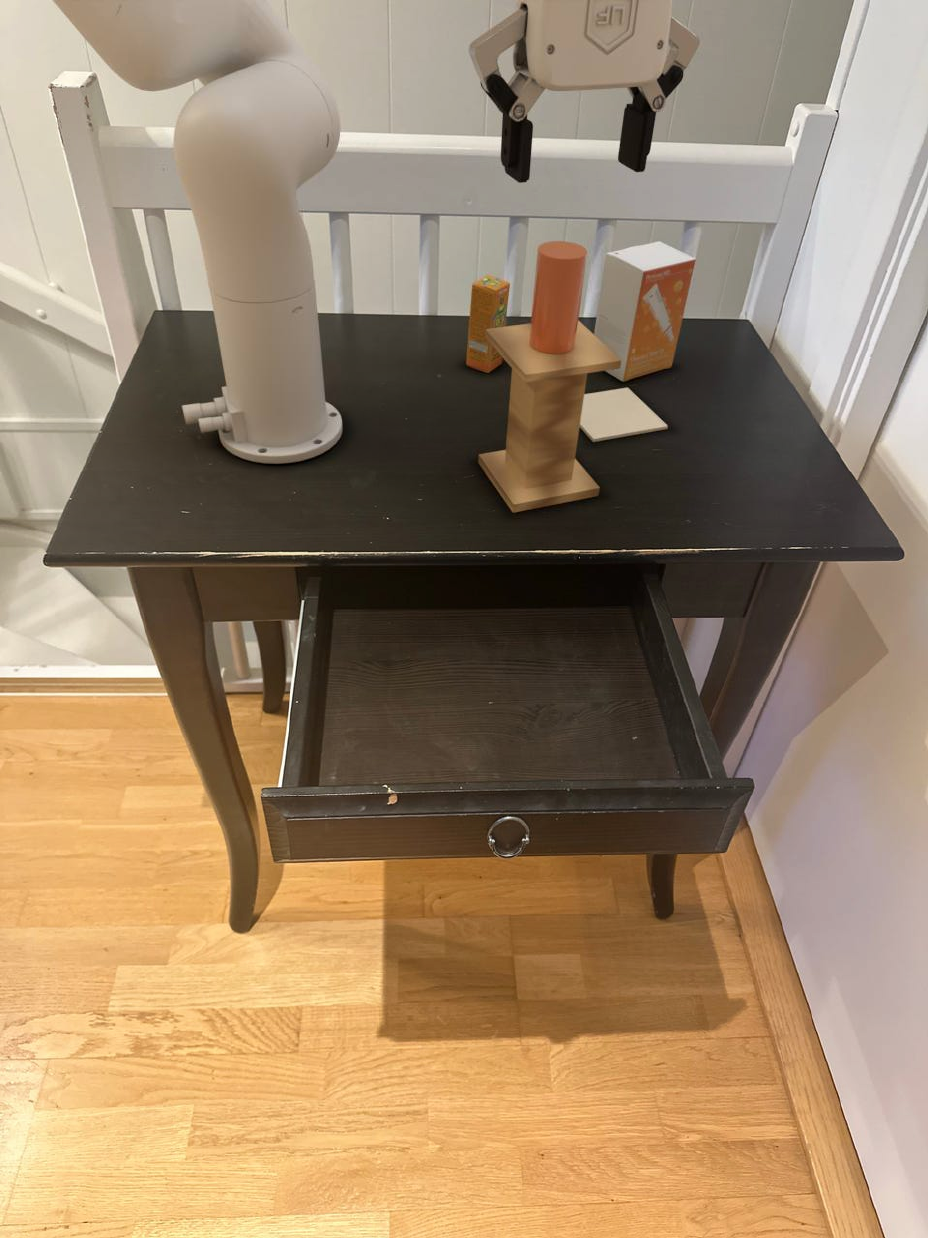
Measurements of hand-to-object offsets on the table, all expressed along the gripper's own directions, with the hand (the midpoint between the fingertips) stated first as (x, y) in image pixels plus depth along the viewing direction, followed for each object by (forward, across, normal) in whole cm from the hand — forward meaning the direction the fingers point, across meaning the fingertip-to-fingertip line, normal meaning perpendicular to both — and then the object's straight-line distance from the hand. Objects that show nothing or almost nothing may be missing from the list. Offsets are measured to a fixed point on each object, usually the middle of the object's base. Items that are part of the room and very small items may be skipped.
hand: (574, 172), depth 64 cm
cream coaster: (+28, +12, +9) cm, 32 cm away
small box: (+28, +20, +19) cm, 40 cm away
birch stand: (+28, 0, 0) cm, 28 cm away
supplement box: (+28, +4, +24) cm, 37 cm away
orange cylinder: (+14, 0, 0) cm, 14 cm away
